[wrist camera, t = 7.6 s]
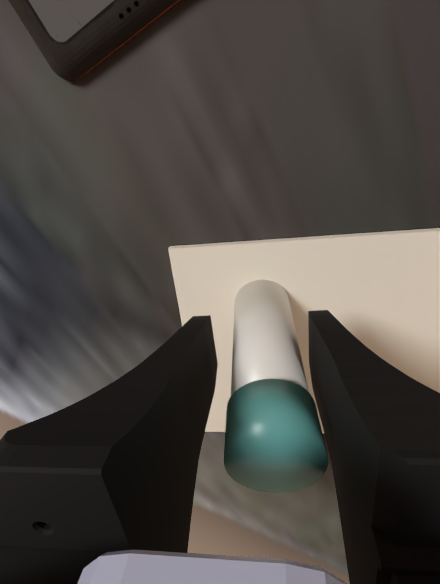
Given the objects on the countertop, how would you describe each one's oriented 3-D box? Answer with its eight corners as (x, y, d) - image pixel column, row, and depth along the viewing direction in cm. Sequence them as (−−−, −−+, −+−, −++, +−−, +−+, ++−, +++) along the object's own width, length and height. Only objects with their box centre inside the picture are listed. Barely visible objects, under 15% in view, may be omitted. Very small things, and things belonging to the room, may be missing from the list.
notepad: (568, 219, 12) (576, 221, 11) (497, 431, 16) (501, 437, 16) (170, 246, 14) (168, 249, 14) (202, 426, 18) (201, 432, 18)
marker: (289, 274, 13) (328, 425, 7) (292, 324, 15) (327, 491, 8) (228, 280, 14) (216, 431, 8) (236, 329, 15) (231, 493, 9)
